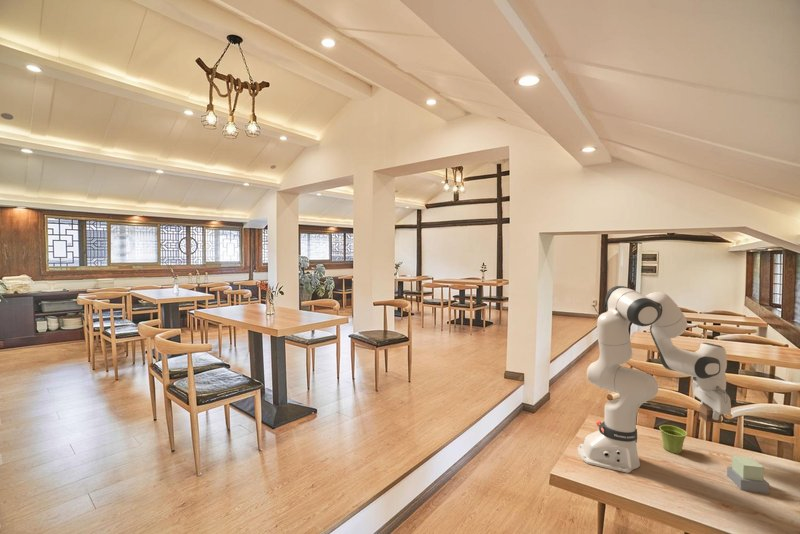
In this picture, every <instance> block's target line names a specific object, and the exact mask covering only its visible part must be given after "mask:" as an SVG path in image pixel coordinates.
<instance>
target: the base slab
mask: <svg viewBox="0 0 800 534" xmlns="http://www.w3.org/2000/svg"><path fill="white" fill-rule="evenodd" d="M726 477H727V478H728V477H729V478H730V479H731V480H732V481H733V482H734V483H735V484H734V483H733V482H732V481H731V480H730V479H729V478H728V479H729V480H730V481H731V482H732V483H733V484H734V485H735V486H736V485H737V486H736V487H737V489H739V490H740V491H747V492H754V493H760V494H761V493H762V494H768V495H769V491H770V489H769V487H770V483H769V482H767V480H765V478H764V479H763V481H759V480H751V479H743V478H742V477H741V476H740V475H739V474H737V473H736V472H735V471H734V470H733V469H732V466H727V467H726Z"/></svg>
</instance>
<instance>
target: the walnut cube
mask: <svg viewBox="0 0 800 534" xmlns="http://www.w3.org/2000/svg"><path fill="white" fill-rule="evenodd" d="M713 412H714V411H713V409H712V408H711V407H710V406H708V405H702V404H699V417H701V419H703V420H704V421H705V422H706V423H714V424H715V423H717V424H722V419H723V418H722V416H723V414H720V415H719V420H714V419H713V418H711V414H713Z"/></svg>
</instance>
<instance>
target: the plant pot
mask: <svg viewBox="0 0 800 534" xmlns="http://www.w3.org/2000/svg"><path fill="white" fill-rule="evenodd" d="M659 430H660V433H661V438H662V446H663V448H664V450H665V451H667V452H669V453H671V454H672V453H673V454H680V453H682V451H683V447H684V446H683V445H684V442H685V439H686V437H687V436H688V433H687V431H686V430H684V429H682V428H680V427H678V426H676V425H670V424H662V425H660V426H659Z"/></svg>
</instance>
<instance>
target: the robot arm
mask: <svg viewBox="0 0 800 534" xmlns="http://www.w3.org/2000/svg"><path fill="white" fill-rule="evenodd" d="M603 308H604V310H605V312H602V313H601V314H599V316H598V318H597V321H596V333H597V335H596V336H597V341H598V348H599V355H598V359H597V360H595V361H593V362H591V363H590V364H588V366H587V368H586V377H587V380H588V381H589V383H590V384H592V385H594V386H596V387H598V388H600V389H602V390H605V391H609V392H614V393H615V394H618V395H619V397H618V398H617V399H616V398H615V399H611V400H608V401H607V402H606V403H605V405H604V417H603V418H604V421H603V422H601V420H599V419H597V420H595V424H596V426H597V427H598V430H595V431H593V432H591V433H589V434H587V435H586V436H585V438H584V440H583V443H579V445H578V446H577V453H578V456H579V457H580V458H581V460H582V461H583V462H585V463H586V464H587V465H592V466H597V467H601V468H605V469H609V470H613V471H619V472H624V473H627V474H629V473H631V472H632V471H633V470H636V469H639V468H640V466H641V461H640V459H639V453H638V448H637V442H638V429H637V415H638V410H639V408H640V407H641V406H642V405H643V404H644V403H646V402H648V401H651V400H653V399H654V398H656V396H657V395H658V392H659V384H658V381H657V379H656V378H655V377H654V376H653V375H651V374H649V373H647V372H644V371H642V370H639V369H633V368H631V367H630V368H629V367H626V366H622V364H625V363H627V362H630V360H631V358H632V357H633V350H632V343H631V335H630V332H629V331H630V330H629V328H630V324H631V323H632V324H633V325H635V326H639V327H649V333H650V336H651V338H652V340H653V343H654V345H655V347H656V349H657V351H658V354H659V359H660V363H661V364H662V366H663V367H664V368H665V369H666V370H668V371H673V372H678V373H681V374H683V375H687V376H690V377H691V380H692V385H691V386H692V387H691V388H692V393H693V396H694V397H696V398H697V399H698V400H700V403H701V405H708V406H710V407H711V408H712V409H713V411H714V412H713V414H711V418H713V419H714V420H719V415H720V414H722V415H726V416H729V415H731V413H732V405H731V403H732V402H731V401H732V400H731V397H730V396H729V394H728V393H727V390H726V389H727V374H726V370H727V368H728V367H727V366H728V358H727V351H726V348H725V347H723V346H722V345H719V344H714V343H709V342H700V345H699V348H698V350H696V351H691V350H687V349H684V348H680V347H678V346H676V345H674V344H673V341H672V339H675V338H677V337H679V336H681V335H683V333H685V331H686V329H687V328H688V322H687V318H686V316H685V314H684V313H683V311H682V309H681V308H680V307H679V305H678V304H677V303H676V302H675V301H674V300H673V299H672V297H670V295H668V294H667V293H665V292H663V291H654V292H650V293H648V294H646V295H644V294H643V293H640V292H638V291H636V290H635V289H631V288H630V287H627V286H624V285H623V286H622V285H617V286H616V285H615V286H613V287H611V288H610V289H609V290H608V291H607V293H606V296H605V299H604V305H603Z"/></svg>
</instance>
